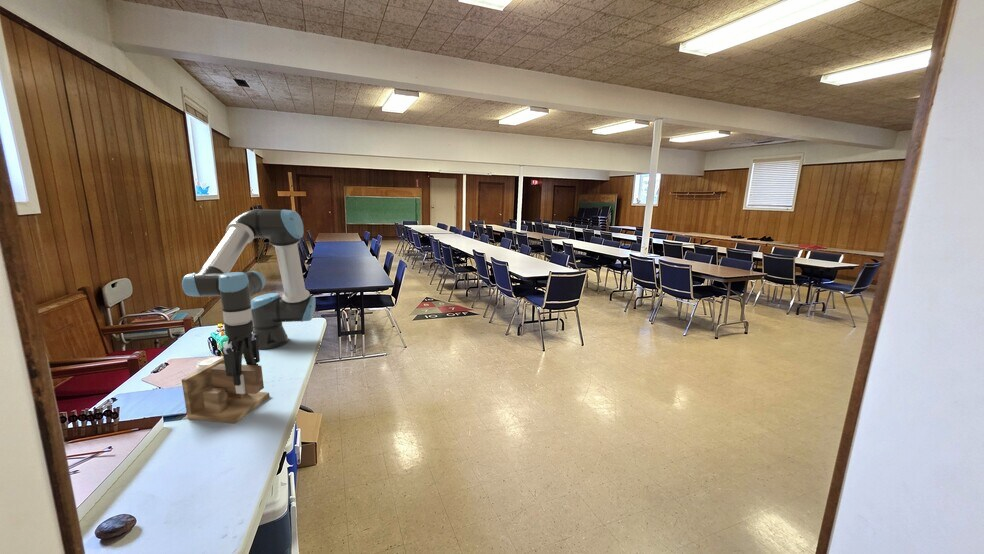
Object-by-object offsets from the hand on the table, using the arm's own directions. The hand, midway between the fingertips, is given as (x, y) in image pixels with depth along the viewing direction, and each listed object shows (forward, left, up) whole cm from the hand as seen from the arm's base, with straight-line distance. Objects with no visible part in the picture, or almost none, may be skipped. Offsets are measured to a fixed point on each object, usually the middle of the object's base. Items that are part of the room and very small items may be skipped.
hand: (246, 389), depth 124 cm
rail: (0, -3, 0) cm, 3 cm away
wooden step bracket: (0, -7, -7) cm, 10 cm away
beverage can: (-8, -20, -7) cm, 22 cm away
